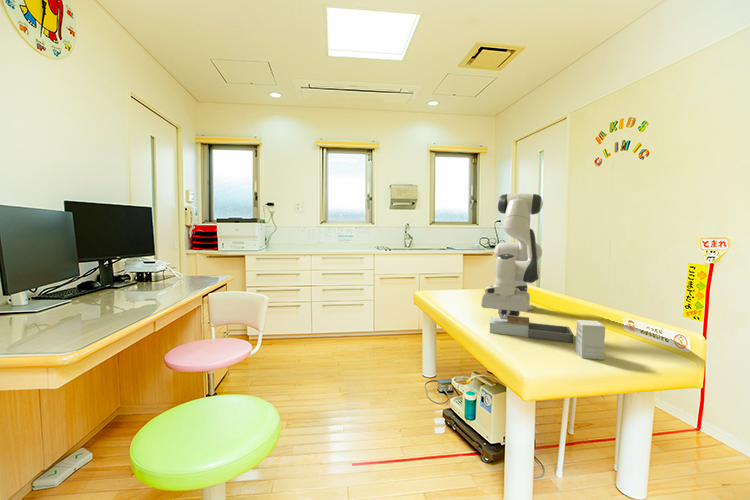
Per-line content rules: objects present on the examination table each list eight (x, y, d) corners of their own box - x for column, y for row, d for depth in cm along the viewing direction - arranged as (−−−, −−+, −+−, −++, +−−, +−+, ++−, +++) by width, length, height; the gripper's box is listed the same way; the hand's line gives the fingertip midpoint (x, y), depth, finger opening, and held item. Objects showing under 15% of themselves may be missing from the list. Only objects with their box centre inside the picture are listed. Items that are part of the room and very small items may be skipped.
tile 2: (517, 321, 152) (517, 316, 151) (528, 322, 150) (528, 317, 150) (517, 324, 147) (518, 318, 147) (528, 325, 146) (529, 319, 146)
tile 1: (507, 320, 153) (507, 315, 153) (517, 321, 152) (517, 316, 151) (507, 322, 149) (507, 317, 149) (517, 324, 147) (518, 318, 147)
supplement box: (596, 353, 126) (598, 320, 125) (603, 360, 119) (605, 326, 118) (574, 350, 128) (576, 319, 127) (580, 358, 121) (582, 324, 120)
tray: (526, 329, 154) (527, 322, 154) (568, 334, 147) (568, 326, 147) (528, 337, 143) (528, 329, 142) (573, 343, 136) (573, 334, 136)
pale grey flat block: (490, 326, 159) (490, 317, 159) (526, 330, 153) (527, 320, 153) (489, 332, 150) (489, 322, 149) (528, 337, 144) (528, 326, 143)
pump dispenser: (515, 318, 174) (516, 289, 172) (522, 323, 163) (523, 293, 162) (495, 317, 175) (496, 289, 173) (501, 323, 164) (502, 293, 163)
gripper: (529, 290, 150) (528, 319, 151) (482, 286, 157) (481, 315, 158) (530, 292, 144) (529, 323, 145) (481, 289, 152) (480, 318, 153)
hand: (503, 319), depth 152 cm, fingers closed
